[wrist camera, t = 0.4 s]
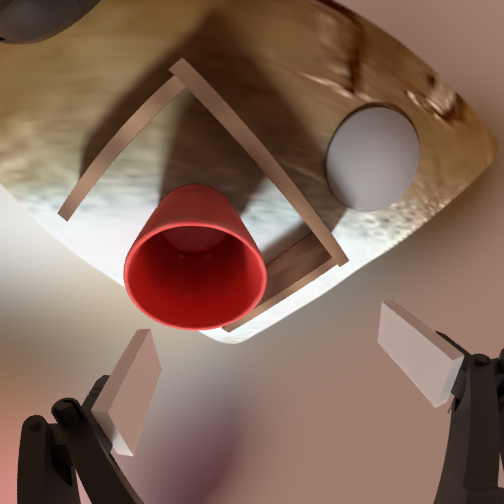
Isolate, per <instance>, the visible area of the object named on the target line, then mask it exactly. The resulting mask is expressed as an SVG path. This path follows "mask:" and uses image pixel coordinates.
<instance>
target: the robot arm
mask: <svg viewBox="0 0 504 504" xmlns="http://www.w3.org/2000/svg"><path fill="white" fill-rule="evenodd" d="M99 1H100V0H0V42H2V43H6V44H31V43H36V42H40V41H43V40H45V39H48V38H50V37H52V36H54V35H56V34H58V33H60V32H62V31H63V30H65V29H67V28H68V27H70V26H71V25H73V24H74V23H75V22H77V21H78V20H79V19H81V18H82V17H83V16H84V15H86V14H87V13H88V12H89V11H90V10H91V9H92V8H93V7H94V6H95V5H96V4H97V3H98V2H99ZM377 342H378V343H379V344H380V345H381V347H382V348H383V349H384V350H385V351H386V352H387V353H388V354H389V356H391V358H392V359H393V360H394V361H395V362H396V363H397V364H398V366H399V367H400V368H401V369H402V370H403V371H404V372H405V374H406V375H407V376H408V377H409V378H410V379H411V380H412V381H413V383H414V384H415V385H416V386H417V387H418V388H419V390H420V391H421V392H422V393H423V394H424V395H425V396H426V398H427V399H428V400H429V401H430V402H431V403H432V404H433V406H434V407H435V408H436V407H438V406H440V405H442V404H444V403H446V402H447V400H448V398H449V395H450V393H452V394H453V395H454V396H455V397H454V399H453V401H452V403H451V406H450V408H449V410H448V413H450V411H451V410H452V413H451V422H450V430H449V438H448V444H447V450H446V455H445V461H444V465H443V470H442V474H441V479H440V482H439V486H438V490H437V494H436V497H435V501H434V504H504V488H500V487H498V473H499V457H500V455H501V460H502V464H503V470H504V349H502V350H501V353H500V356H499V358H495V359H490V358H489V357H488V356H486V355H484V354H474V355H470V354H469V353H468V352H467V351H465V350H464V349H463V348H462V347H461V346H459V345H458V344H456V343H455V342H454V341H453V340H451V339H450V338H449V337H448V336H446V335H445V334H443V333H440V332H438V331H436V332H435V331H433V330H432V329H431V328H429V327H428V326H427V325H426V324H424V323H423V322H421V321H420V320H419V319H418V318H416V317H415V316H414V315H412V314H411V313H409V312H408V311H407V310H406V309H404V308H403V307H402V306H400V305H399V304H398V303H396V302H395V301H393V300H390V301H385V302H382V309H381V317H380V326H379V333H378V341H377ZM160 372H161V366H160V363H159V360H158V356H157V353H156V349H155V346H154V342H153V338H152V335H151V331H150V329H140V330H137V331H136V333H135V334H134V336H133V338H132V339H131V341H130V343H129V345H128V346H127V348H126V349H125V351H124V353H123V354H122V356H121V358H120V360H119V361H118V363H117V365H116V367H115V368H114V370H113V371H112V373H111V375H110V376H109V375H103V376H102V377H101V378H100V379H98V380H97V381H96V382H95V384H94V386H93V388H92V389H91V391H90V392H89V395H88V396H87V397H86V399H85V401H84V403H83V404H82V406H80V404H79V402H78V401H77V400H75V399H74V398H63V399H61V400H59V401H57V402H56V403H55V404H54V405H53V406H52V408H51V413H52V415H53V416H54V418H55V419H56V421H57V422H58V423H55V424H48V423H47V421H46V420H45V419H44V417H42V416H40V415H34V416H30V417H29V418H27V419H26V420H25V421H24V423H23V426H22V432H21V440H20V448H19V459H18V474H17V504H81V502H80V497H79V491H78V484H77V477H76V471H77V473H78V476H79V478H80V480H81V482H82V484H83V487H84V489H85V491H86V493H87V495H88V497H89V499H90V501H91V502H92V504H144V503H143V501H142V500H141V499H140V497H139V496H138V495H137V493H136V492H135V490H134V489H133V488H132V486H131V485H130V483H129V482H128V480H127V479H126V477H125V476H124V474H123V472H122V471H121V470H120V468H119V466H118V465H117V463H116V461H115V459H114V458H113V456H112V455H111V453H110V452H111V449H112V446H113V447H114V449H115V450H116V452H117V453H118V454H122V455H129V456H134V454H135V450H136V447H137V444H138V440H139V437H140V434H141V431H142V427H143V424H144V421H145V418H146V415H147V411H148V408H149V405H150V402H151V399H152V396H153V393H154V390H155V387H156V384H157V381H158V378H159V375H160ZM75 468H76V470H75Z"/></svg>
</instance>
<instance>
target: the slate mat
mask: <svg viewBox="0 0 504 504" xmlns="http://www.w3.org/2000/svg"><path fill="white" fill-rule="evenodd" d="M419 160H420V146H419V141H418V137H417V134H416V132H415V130H414V128H413V126H412V125H411V124H410V122H409V121H408V120H407V119H406V118H405V117H404V116H403V115H401V114H399V113H398V112H396V111H393V110H391V109H388V108H384V107H369V108H365V109H362V110H359V111H357V112H355V113H354V114H352V115H350V116H349V117H348V118H347V119H345V120H344V121H343V122H342V123H341V124H340V126H339V127H338V128H337V130H336V131H335V133H334V135H333V136H332V138H331V141H330V143H329V146H328V149H327V153H326V159H325V170H326V177H327V181H328V184H329V186H330V188H331V190H332V192H333V193H334V195H335V196H336V197H337V198H338V199H339V200H340V201H341V202H342V203H343V204H344V205H346V206H347V207H349V208H351V209H353V210H356V211H361V212H372V211H377V210H381V209H383V208H386V207H388V206H390V205H391V204H393V203H394V202H396V201H397V200H398V199H399V198H400V197H401V196H402V195H403V194H404V193H405V192H406V191H407V189H408V188H409V187H410V185H411V184H412V182H413V180H414V178H415V175H416V173H417V169H418V166H419Z"/></svg>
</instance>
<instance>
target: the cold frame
mask: <svg viewBox="0 0 504 504" xmlns="http://www.w3.org/2000/svg"><path fill="white" fill-rule="evenodd" d="M168 70H169V71H170V72H171V73H173V74H174V76H173V77H172V78H170V79H169V80H168V81H167V82H166V83H165V84H164V85H163V86H162V87H161V88H159V89H158V90H157V91H156V92H155V93H154V94H153V95H152V96H151V97H150V98H149V99H148V100H147V101H146V102H145V103H144V104H143V105H142V106H141V107H140V108H139V109H138V110H137V111H136V112H135V113H134V114H133V115H132V116H131V118H130V119H129V120H128V121H127V122H126V123H125V124H124V125H123V126H122V127H121V129H120V130H119V131H118V132H117V133H116V134H115V135H114V137H113V138H112V139H111V140H110V141H109V142H108V144H107V145H106V146H105V147H104V149H103V150H102V151H101V152H100V153H99V155H98V156H97V157H96V159H95V160H94V161H93V162H92V164H91V165H90V166H89V168H88V169H87V170H86V172H85V173H84V174H83V176H82V177H81V179H80V180H79V181H78V183H77V184H76V186H75V187H74V189H73V190H72V192H71V193H70V195H69V196H68V198H67V199H66V201H65V202H64V204H63V205H62V207H61V209H60V210H59V212H58V214H59V215H60V216H61V217H62V218H64V219H65V220H66V221H68V220H69V219H70V217H71V216H72V214H73V213H74V211H75V210H76V209H77V207H78V206H79V204H80V203H81V202H82V200H83V199H84V198H85V196H86V195H87V194H88V192H89V191H90V190H91V188H92V187H93V186H94V184H95V183H96V182H97V181H98V179H99V178H100V177H101V176H102V174H103V173H104V172H105V171H106V169H107V168H108V167H109V166H110V164H111V163H112V162H113V161H114V160H115V159H116V157H117V156H118V155H119V154H120V153H121V152H122V150H123V149H124V148H125V147H126V146H127V145H128V144H129V143H130V142H131V141H132V139H133V138H134V137H135V136H136V135H137V134H138V133H139V132H140V131H141V130H142V129H143V128H144V127H145V126H146V125H147V124H148V123H149V122H150V121H151V120H152V119H153V118H154V117H155V116H156V115H157V114H158V113H159V112H160V111H161V110H162V109H163V108H164V107H165V106H166V105H167V104H168V103H169V102H171V101H172V100H173V99H174V98H175V97H176V96H177V95H178V94H179V93H181V92H182V91H183V90H184V89H185V88H186V87H187V88H188V89H189V90H190V91H191V92H192V93H193V94H194V96H195V97H196V98H197V99H198V100H199V101H200V102H201V103H202V104H203V105H204V106H205V107H206V108H207V109H208V110H209V111H210V112H211V113H212V114H213V115H214V116H215V117H216V119H217V120H218V121H219V122H220V123H221V124H222V125H223V126H224V127H225V128H226V129H227V130H228V132H229V133H230V134H231V135H232V136H233V137H234V138H235V139H236V140H237V142H238V143H239V144H240V145H241V146H242V147H243V148H244V149H245V150H246V152H247V153H248V154H249V155H250V156H251V157H252V158H253V160H254V161H255V162H256V163H257V164H258V165H259V167H260V168H261V169H262V170H263V171H264V172H265V174H266V175H267V176H268V177H269V178H270V179H271V181H272V182H273V183H274V184H275V185H276V187H277V188H278V189H279V190H280V191H281V193H282V194H283V195H284V196H285V197H286V199H287V200H288V201H289V202H290V204H291V205H292V206H293V207H294V209H295V210H296V211H297V212H298V214H299V215H300V216H301V217H302V219H303V220H304V221H305V222H306V224H307V225H308V226H309V227H310V229H311V230H312V231H313V232H312V233H310V234H309V235H308V236H306V237H305V238H303V239H302V240H300V241H299V242H298V243H296V244H295V245H293V246H292V247H291V248H289V249H288V250H286V251H285V252H283V253H282V254H281V255H279V256H278V257H276V258H275V259H273V260H272V261H270V262H269V263H268V264H266V270H267V284H266V288H265V291H264V294H263V296H262V298H261V300H260V301H259V303H258V304H257V305H256V306H255V307H254V309H253V310H252V311H250V312H249V313H248V314H247V315H245V316H244V317H242V318H241V319H239V320H237V321H235V322H233V323H231V324H228V325H226V326H223V327H222V329H224V330H225V331H227V332H231V331H233V330H234V329H236V328H238V327H240V326H241V325H243V324H245V323H246V322H248V321H250V320H251V319H253V318H255V317H256V316H258V315H259V314H261V313H263V312H264V311H266V310H268V309H269V308H271V307H272V306H274V305H276V304H277V303H279V302H280V301H282V300H284V299H285V298H287V297H288V296H290V295H291V294H293V293H295V292H296V291H298V290H299V289H301V288H302V287H304V286H305V285H307V284H308V283H310V282H311V281H313V280H315V279H316V278H318V277H319V276H321V275H322V274H324V273H325V272H327V271H328V270H329V269H331V268H332V267H334V266H335V265H337V264H338V266H339V267H341V266H342V265H344V264H345V263H347V262H348V261H349V260H348V258H347V256H346V255H345V253H344V252H343V250H342V249H341V247H340V246H339V244H338V242H337V241H336V239H335V238H334V236H333V235H332V233H331V232H330V231H329V229H328V228H327V226H326V225H325V223H324V222H323V221H322V219H321V218H320V217H319V215H318V214H317V212H316V211H315V210H314V208H313V207H312V206H311V204H310V203H309V202H308V200H307V199H306V197H305V196H304V195H303V193H302V192H301V191H300V190H299V188H298V187H297V186H296V184H295V183H294V182H293V180H292V179H291V178H290V177H289V175H288V174H287V173H286V171H285V170H284V169H283V168H282V166H281V165H280V164H279V163H278V161H277V160H276V159H275V158H274V156H273V155H272V154H271V153H270V152H269V150H268V149H267V148H266V147H265V145H264V144H263V143H262V142H261V141H260V139H259V138H258V137H257V136H256V135H255V134H254V132H253V131H252V130H251V129H250V128H249V127H248V125H247V124H246V123H245V122H244V121H243V120H242V118H241V117H240V116H239V115H238V114H237V113H236V112H235V111H234V109H233V108H232V107H231V106H230V105H229V104H228V103H227V102H226V101H225V99H224V98H223V97H222V96H221V95H220V94H219V93H218V92H217V91H216V90H215V89H214V88H213V87H212V85H211V84H210V83H209V82H208V81H207V80H206V79H205V78H204V77H203V76H202V75H201V74H200V73H199V72H198V71H197V70H196V69H195V68H194V67H193V66H192V65H191V64H190V63H189V62H188V61H187V60H186V59H184V58H181V59H180V60H179V61H177V62H176V63H175V64H174V65H173V66H172V67H170V68H169V69H168Z"/></svg>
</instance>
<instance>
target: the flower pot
mask: <svg viewBox="0 0 504 504" xmlns="http://www.w3.org/2000/svg"><path fill="white" fill-rule="evenodd" d="M124 283H125V287H126V290H127V293H128V295H129V297H130V298H131V300H132V301H133V303H134V304H135V305H136V306H137V307H138V308H139V309H140V310H141V311H142V312H143V313H144V314H146V315H147V316H149V317H150V318H152V319H153V320H155V321H157V322H159V323H161V324H163V325H166V326H170V327H173V328H177V329H183V330H209V329H215V328H219V327H223V326H226V325H228V324H231V323H233V322H235V321H237V320H239V319H241V318H242V317H244V316H245V315H247V314H248V313H249V312H250V311H252V310H253V309H254V307H255V306H256V305H257V304H258V303H259V301H260V300H261V298H262V296H263V294H264V291H265V288H266V284H267V270H266V265H265V262H264V259H263V257H262V254H261V252H260V251H259V249H258V247H257V245H256V243H255V241H254V240H253V238H252V236H251V235H250V233H249V232H248V230H247V228H246V227H245V225H244V223H243V222H242V220H241V219H240V217H239V216H238V214H237V213H236V211H235V210H234V208H233V207H232V205H231V204H230V202H229V201H228V199H227V198H226V197H225V196H224V195H223V194H222V193H221V192H219V191H218V190H216V189H214V188H212V187H209V186H206V185H200V184H190V185H185V186H182V187H179V188H177V189H175V190H173V191H172V192H170V193H169V194H168V195H167V196H166V197H165V198H164V199H163V200H162V202H161V203H160V204H159V205H158V207H157V208H156V209H155V211H154V212H153V213H152V215H151V216H150V218H149V219H148V221H147V223H146V224H145V226H144V227H143V229H142V230H141V232H140V233H139V235H138V237H137V238H136V240H135V241H134V243H133V245H132V246H131V248H130V250H129V252H128V254H127V257H126V260H125V264H124Z"/></svg>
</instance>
